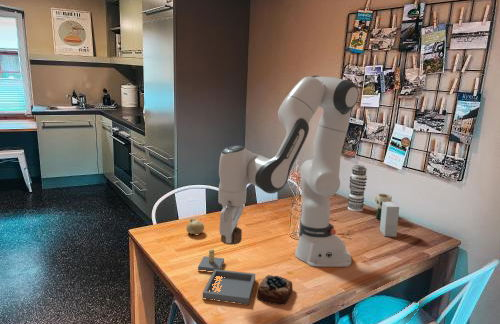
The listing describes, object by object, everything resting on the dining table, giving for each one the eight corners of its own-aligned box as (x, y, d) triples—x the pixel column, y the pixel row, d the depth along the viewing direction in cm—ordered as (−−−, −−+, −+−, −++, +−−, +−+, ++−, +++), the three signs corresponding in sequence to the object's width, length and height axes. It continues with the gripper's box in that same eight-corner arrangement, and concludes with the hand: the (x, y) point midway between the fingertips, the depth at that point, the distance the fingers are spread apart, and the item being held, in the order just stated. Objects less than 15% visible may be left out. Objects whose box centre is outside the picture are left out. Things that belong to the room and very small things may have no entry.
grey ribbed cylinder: (366, 208, 206) (371, 166, 200) (358, 212, 199) (363, 168, 194) (351, 204, 212) (356, 163, 206) (344, 208, 205) (348, 165, 200)
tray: (255, 280, 128) (255, 273, 128) (248, 305, 114) (248, 298, 113) (214, 275, 131) (214, 269, 130) (202, 299, 116) (202, 292, 115)
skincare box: (396, 237, 169) (400, 207, 165) (383, 236, 169) (387, 206, 166) (391, 230, 177) (394, 201, 174) (378, 229, 177) (382, 200, 174)
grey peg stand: (224, 263, 139) (224, 246, 138) (219, 273, 132) (219, 256, 130) (204, 260, 141) (204, 244, 139) (198, 271, 133) (198, 254, 131)
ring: (242, 237, 121) (242, 227, 120) (239, 245, 115) (239, 235, 114) (223, 235, 122) (224, 225, 121) (219, 243, 116) (219, 233, 115)
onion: (202, 229, 170) (202, 215, 169) (205, 236, 163) (205, 221, 161) (185, 231, 168) (185, 216, 166) (187, 238, 160) (187, 223, 159)
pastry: (253, 300, 117) (253, 284, 116) (263, 281, 128) (264, 266, 127) (286, 308, 114) (287, 291, 112) (294, 288, 125) (295, 272, 123)
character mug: (369, 216, 194) (371, 193, 191) (377, 214, 197) (380, 191, 195) (385, 223, 185) (388, 199, 182) (394, 221, 188) (398, 197, 186)
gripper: (235, 208, 105) (234, 252, 108) (247, 188, 124) (245, 226, 127) (214, 206, 105) (214, 250, 108) (229, 187, 125) (228, 224, 128)
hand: (231, 237), depth 118 cm, fingers closed on ring, 6 cm apart
